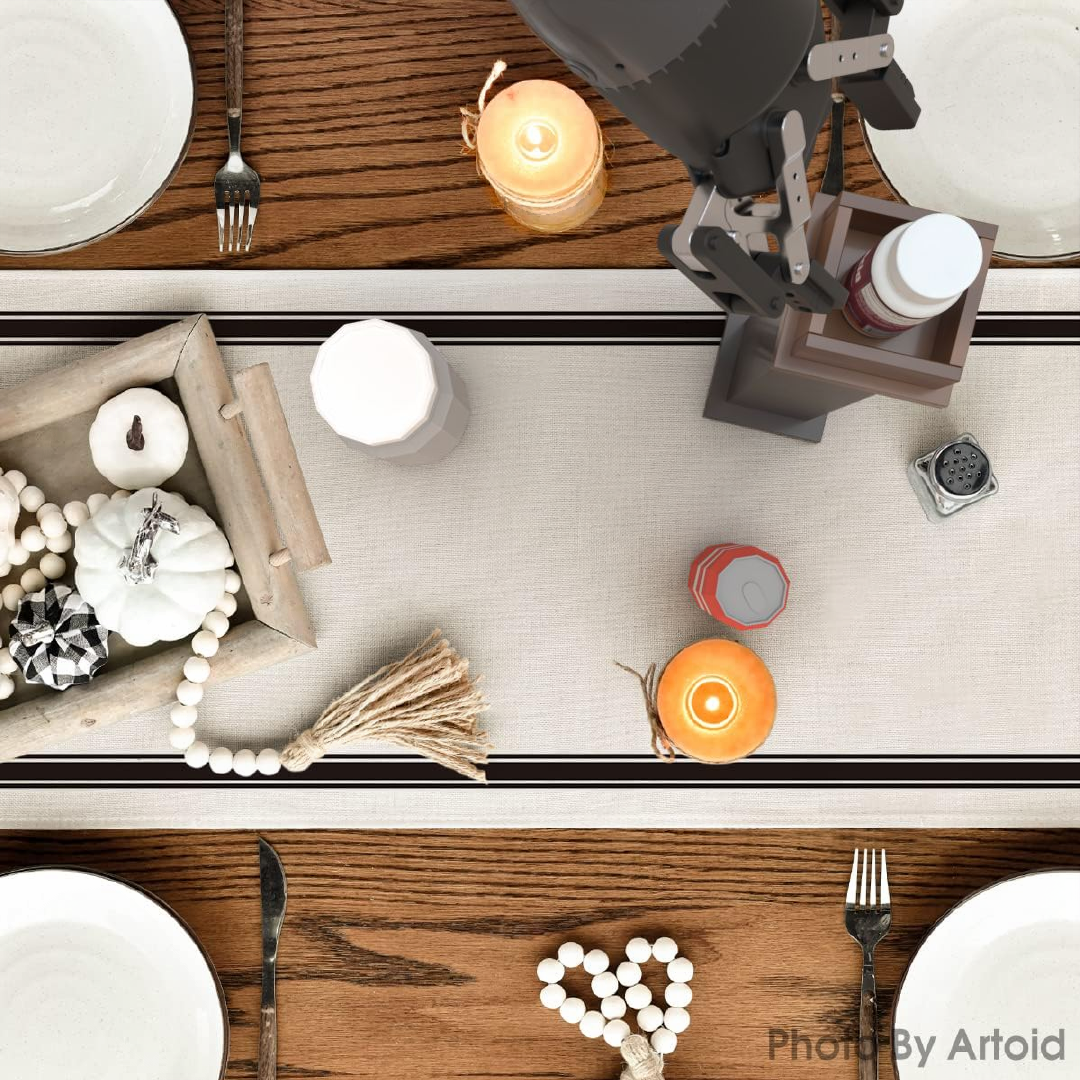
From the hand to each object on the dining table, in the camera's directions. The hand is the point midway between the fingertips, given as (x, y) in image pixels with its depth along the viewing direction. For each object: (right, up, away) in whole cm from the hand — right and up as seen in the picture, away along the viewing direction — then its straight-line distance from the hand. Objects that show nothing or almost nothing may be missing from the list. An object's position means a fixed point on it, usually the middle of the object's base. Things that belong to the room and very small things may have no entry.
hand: (864, 211), depth 42 cm
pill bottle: (+4, -1, +10) cm, 11 cm away
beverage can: (+1, -18, +38) cm, 42 cm away
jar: (-25, -4, +38) cm, 46 cm away
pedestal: (+5, -1, +37) cm, 37 cm away
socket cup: (+5, -1, +11) cm, 12 cm away
